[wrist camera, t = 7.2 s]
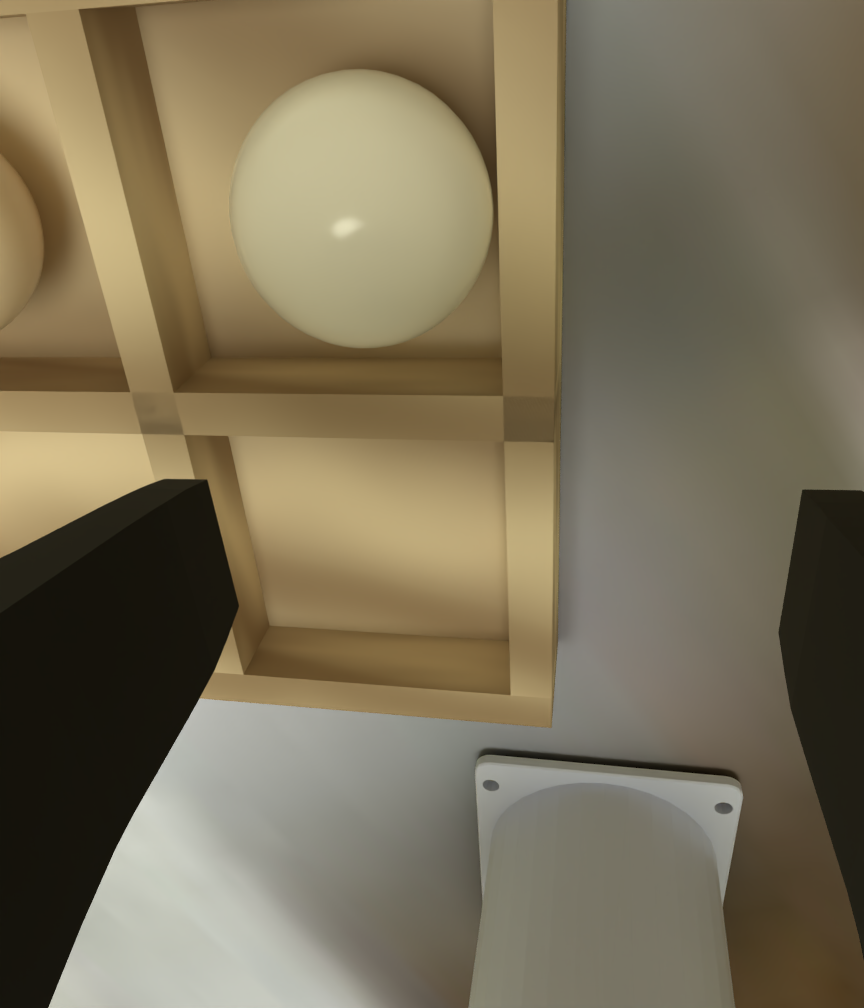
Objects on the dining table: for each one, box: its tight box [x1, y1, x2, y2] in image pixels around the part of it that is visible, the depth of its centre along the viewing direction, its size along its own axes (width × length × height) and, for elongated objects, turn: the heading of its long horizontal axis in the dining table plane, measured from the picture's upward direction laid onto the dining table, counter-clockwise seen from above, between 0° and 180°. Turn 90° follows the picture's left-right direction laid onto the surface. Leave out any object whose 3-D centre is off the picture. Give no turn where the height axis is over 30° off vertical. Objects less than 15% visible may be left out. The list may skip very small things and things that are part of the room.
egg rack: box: [0, 0, 566, 728], centre depth 19 cm, size 17×17×3 cm
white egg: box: [229, 69, 493, 348], centre depth 15 cm, size 5×5×5 cm
